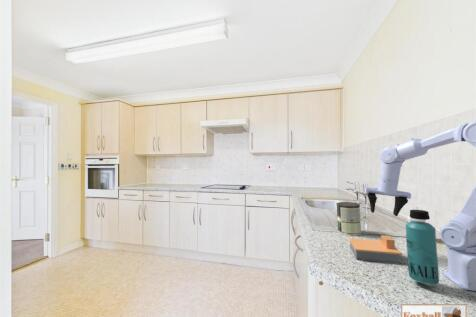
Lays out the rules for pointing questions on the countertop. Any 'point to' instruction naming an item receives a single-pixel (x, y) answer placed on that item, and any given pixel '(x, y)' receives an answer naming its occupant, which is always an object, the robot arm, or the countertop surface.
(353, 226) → the coffee can
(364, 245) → the tub lid
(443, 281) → the countertop surface
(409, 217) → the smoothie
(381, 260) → the parts tub
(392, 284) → the countertop surface
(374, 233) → the countertop surface
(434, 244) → the beverage bottle
